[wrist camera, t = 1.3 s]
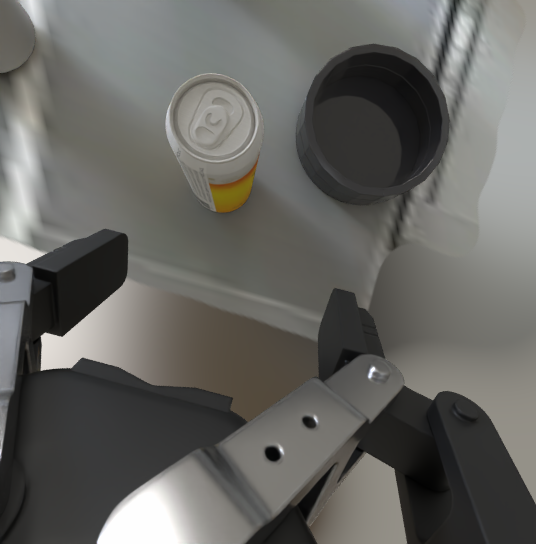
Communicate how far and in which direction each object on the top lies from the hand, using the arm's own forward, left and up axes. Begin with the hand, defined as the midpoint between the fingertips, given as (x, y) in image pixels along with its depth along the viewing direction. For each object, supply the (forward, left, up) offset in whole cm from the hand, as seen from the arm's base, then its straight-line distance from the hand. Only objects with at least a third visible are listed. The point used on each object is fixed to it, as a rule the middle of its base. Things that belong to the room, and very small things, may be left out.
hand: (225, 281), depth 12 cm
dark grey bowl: (-11, +17, -22) cm, 30 cm away
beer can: (-9, +1, -22) cm, 24 cm away
